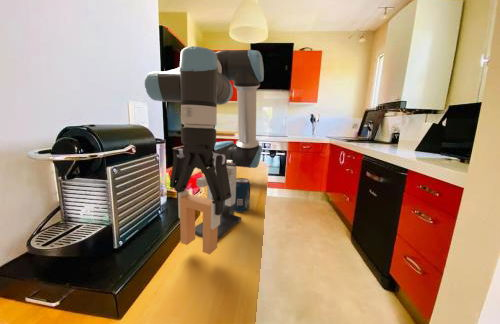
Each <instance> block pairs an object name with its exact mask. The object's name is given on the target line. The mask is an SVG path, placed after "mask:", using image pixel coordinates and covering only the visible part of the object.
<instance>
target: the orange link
mask: <svg viewBox="0 0 500 324" xmlns="http://www.w3.org/2000/svg"><path fill="white" fill-rule="evenodd" d="M211 201H213V200H211V199H207V197H203V196H198V195H195V194H192V193H189V194H187V195H185V196H182V197H180V218H179V219H180V221H179V223H180V225H179V226H180V229H179V230H180V243H181V244H183V245H185V246H187V245H189V244H190V243H192V242H194V241H196V234H195V227H196V211H197V212H201V213H202V222H203V237H202V253H205V254H207V255H211V254H212V253H214V252H215V251H216V249H218V240H217V234H218V226H217V227H216V228H215V229H210V219H211Z"/></svg>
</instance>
